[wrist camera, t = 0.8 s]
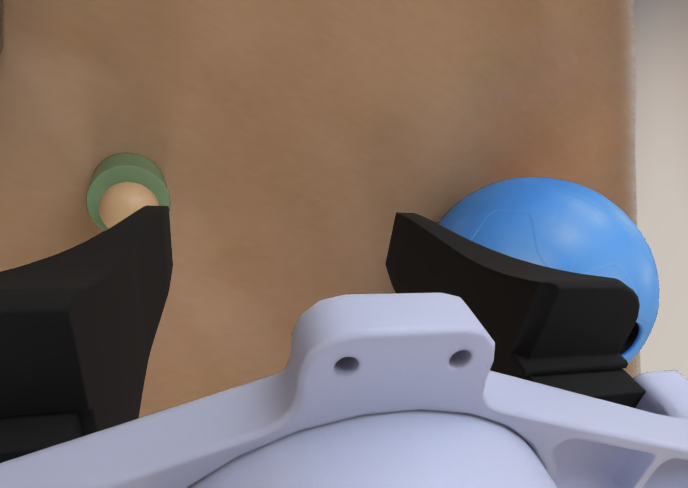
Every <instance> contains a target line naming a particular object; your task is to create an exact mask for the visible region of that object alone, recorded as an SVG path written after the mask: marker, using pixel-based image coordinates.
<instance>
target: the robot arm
mask: <svg viewBox="0 0 688 488" xmlns="http://www.w3.org/2000/svg"><path fill="white" fill-rule="evenodd" d="M172 266H173V262H172V248H171V234H170V220H169V206H151V205H146V206H144V207H142V208H140V209H139V210H137V211H136V212H134V213H133V214H131V215H130V216H128V217H127V218H125V219H123V220H122V221H120V222H119V223H117V224H116V225H114V226H112V227H111V228H109V229H107V230H106V231H104V232H102V233H100V234H98V235H97V236H95V237H93V238H91V239H90V240H88V241H86V242H84V243H82V244H80V245H78V246H75V247H73V248H71V249H68V250H66V251H64V252H61V253H59V254H56V255H54V256H51V257H48V258H45V259H42V260H39V261H36V262H33V263H30V264H27V265H24V266H21V267H17V268H14V269H10V270H6V271H2V272H0V488H688V379H686V378H685V377H684V376H683V375H682V374H680V373H679V372H678V371H676V370H670V371H658V372H646V373H642V374H639V375H638V376H636V377H634V378H632V377H631V376H630V375H629V374H628V373H627V372H626V371H625V370H623V369H622V368H626V367H627V365H628V362H627V360H626V359H625V358H624V357H622V356H621V355H620V354H619V351H620V350H621V348H622V346H623V344H624V343H625V341H626V339H627V337H628V336H629V334H630V332H631V331H632V329H633V327H634V325H635V323H636V320H637V318H638V314H639V308H640V303H639V298H638V296H637V294H636V293H635V292H634V290H633V289H631V288H630V287H629V286H627V285H626V284H624V283H623V282H622V281H620V280H619V279H616V278H610V277H602V276H595V275H587V274H580V273H574V272H569V271H564V270H559V269H554V268H550V267H545V266H541V265H537V264H534V263H530V262H527V261H523V260H520V259H517V258H513V257H510V256H508V255H505V254H502V253H499V252H497V251H494V250H491V249H489V248H487V247H484V246H482V245H480V244H477V243H475V242H473V241H471V240H469V239H467V238H465V237H463V236H460V235H458V234H457V233H455V232H453V231H451V230H449V229H447V228H445V227H443V226H441V225H439V224H437V223H435V222H433V221H431V220H429V219H427V218H425V217H423V216H420V215H418V214H414V213H396V216H395V221H394V226H393V231H392V236H391V240H390V245H389V250H388V255H387V260H386V267H387V270H388V274H389V277H390V280H391V283H392V286H393V288H394V290H395V292H396V294H348V295H340V296H336V297H332V298H328V299H323V300H319V301H318V302H317V303H316V304H314V305H313V306H312V307H310V308H309V309H308V310H306V311H305V312H304V313H302V314H301V315H300V317H299V319H298V322H297V324H296V326H295V328H294V331H293V333H292V340H291V350H290V357H289V361H288V364H287V365H286V367H285V369H283V370H282V371H281V372H279V373H278V374H274V375H271V376H268V377H265V378H262V379H259V380H256V381H253V382H250V383H247V384H243V385H240V386H237V387H234V388H231V389H228V390H225V391H222V392H219V393H216V394H213V395H209V396H206V397H203V398H200V399H197V400H194V401H191V402H188V403H185V404H182V405H178V406H175V407H172V408H169V409H166V410H163V411H160V412H157V413H154V414H151V415H148V416H144V417H141V418H138V416H139V410H140V404H141V398H142V392H143V386H144V380H145V375H146V369H147V364H148V359H149V355H150V351H151V347H152V344H153V341H154V337H155V334H156V331H157V328H158V325H159V322H160V318H161V315H162V312H163V309H164V305H165V302H166V299H167V296H168V292H169V287H170V281H171V274H172Z"/></svg>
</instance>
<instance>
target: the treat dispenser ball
mask: <svg viewBox="0 0 688 488" xmlns="http://www.w3.org/2000/svg"><path fill="white" fill-rule="evenodd" d="M439 225H441V226H443V227H445V228H447V229H449V230H451V231H453V232H455V233H457V234H458V235H460V236H463V237H465V238H467V239H469V240H471V241H473V242H475V243H477V244H480V245H482V246H484V247H487V248H489V249H491V250H494V251H497V252H499V253H502V254H505V255H508V256H510V257H513V258H517V259H520V260H523V261H527V262H530V263H534V264H537V265H541V266H545V267H550V268H554V269H559V270H564V271H569V272H574V273H580V274H587V275H595V276H602V277H610V278H616V279H619V280H620V281H622V282H623V283H624V284H626V285H627V286H629V287H630V288H631V289H633V290H634V292H635V293H636V294H637V296H638V298H639V303H640V308H639V314H638V318H637V320H636V323H635V325H634V327H633V329H632V331H631V332H630V334H629V336H628V337H627V339H626V341H625V343H624V344H623V346H622V348H621V350H620V351H619V354H620V355H621V356H622V357H624V358H625V359H626V360H627V362H628V363H629V362H630V361H631V360H632V359H633V358H634V357H635V356H636V354H637V353H638V352H639V351H640V349H641V348H642V346H643V345H644V343H645V341H646V340H647V338H648V336H649V334H650V332H651V330H652V328H653V325H654V322H655V320H656V317H657V313H658V307H659V280H658V273H657V268H656V264H655V261H654V258H653V255H652V252H651V250H650V248H649V246H648V244H647V242H646V240H645V238H644V237H643V235H642V234H641V232H640V230H639V229H638V228H637V227H636V225H635V224H634V223H633V222H632V221H631V220H630V219H629V217H628V216H627V215H626V214H625V213H624V212H623V211H622V210H621V209H620V208H619V207H617V206H616V205H615V204H614V203H613V202H611V201H610V200H608V199H607V198H605V197H604V196H602V195H600V194H599V193H597V192H595V191H593V190H591V189H588V188H586V187H584V186H581V185H579V184H576V183H572V182H569V181H565V180H559V179H552V178H543V177H524V178H514V179H508V180H504V181H500V182H496V183H494V184H491V185H488V186H485V187H483V188H481V189H479V190H477V191H475V192H473V193H472V194H470V195H468V196H467V197H465V198H464V199H462V200H461V201H460V202H459V203H457V204H456V205H455V206H454V207H453V208H452V209H451V210H450V211H449V212H448V213H447V214H446V215H445V216H444V217H443V218H442V220H441V221H440V222H439ZM622 369H623V368H622Z"/></svg>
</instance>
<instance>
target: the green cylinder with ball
mask: <svg viewBox="0 0 688 488" xmlns="http://www.w3.org/2000/svg"><path fill="white" fill-rule="evenodd" d="M170 204H171V203H170V196H169V192H168V189H167V186H166V183H165V180H164V177H163V175H162V173H161V171H160V169H159V168H158V167H157V166H156V165H155V164H154V163H153V162H152V161H151V160H149V159H148V158H146V157H144V156H141V155H139V154H134V153H118V154H114V155H112V156H109V157H107V158H106V159H104V160H103V161H102V162H101V163H100V164H99V165H98V166H97V168H96V169H95V171H94V174H93V177H92V179H91V182H90V185H89V188H88V191H87V195H86V205H87V210H88V213H89V215H90V217H91V218H92V220H93V221H94V222H95V224H96V225H97V226H98V227H100V228H101V229H102V230H104V231H106V230H107V229H109V228H111V227H112V226H114V225H116V224H117V223H119V222H120V221H122V220H123V219H125V218H127V217H128V216H130V215H131V214H133V213H134V212H136V211H137V210H139V209H140V208H142V207H144V206H146V205H151V206H169V211H170Z"/></svg>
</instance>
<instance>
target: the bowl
mask: <svg viewBox="0 0 688 488" xmlns="http://www.w3.org/2000/svg"><path fill="white" fill-rule="evenodd" d="M2 48H3V0H0V54H1V51H2Z"/></svg>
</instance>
